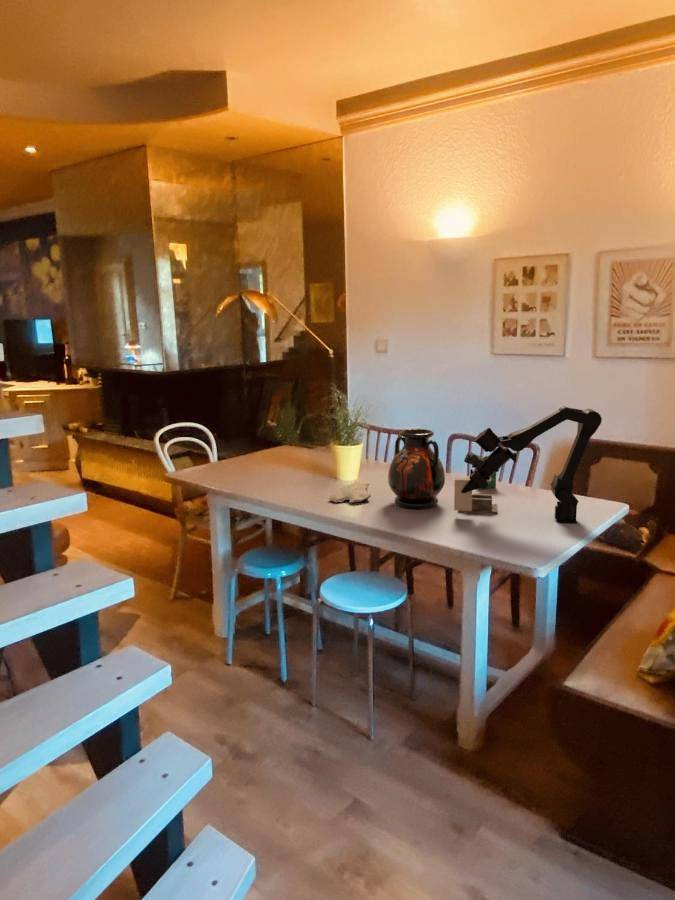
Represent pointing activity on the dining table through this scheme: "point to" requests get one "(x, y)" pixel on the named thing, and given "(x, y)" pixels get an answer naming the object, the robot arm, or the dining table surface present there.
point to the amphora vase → (416, 470)
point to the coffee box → (491, 481)
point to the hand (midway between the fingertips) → (462, 491)
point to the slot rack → (482, 504)
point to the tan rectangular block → (462, 495)
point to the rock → (351, 492)
